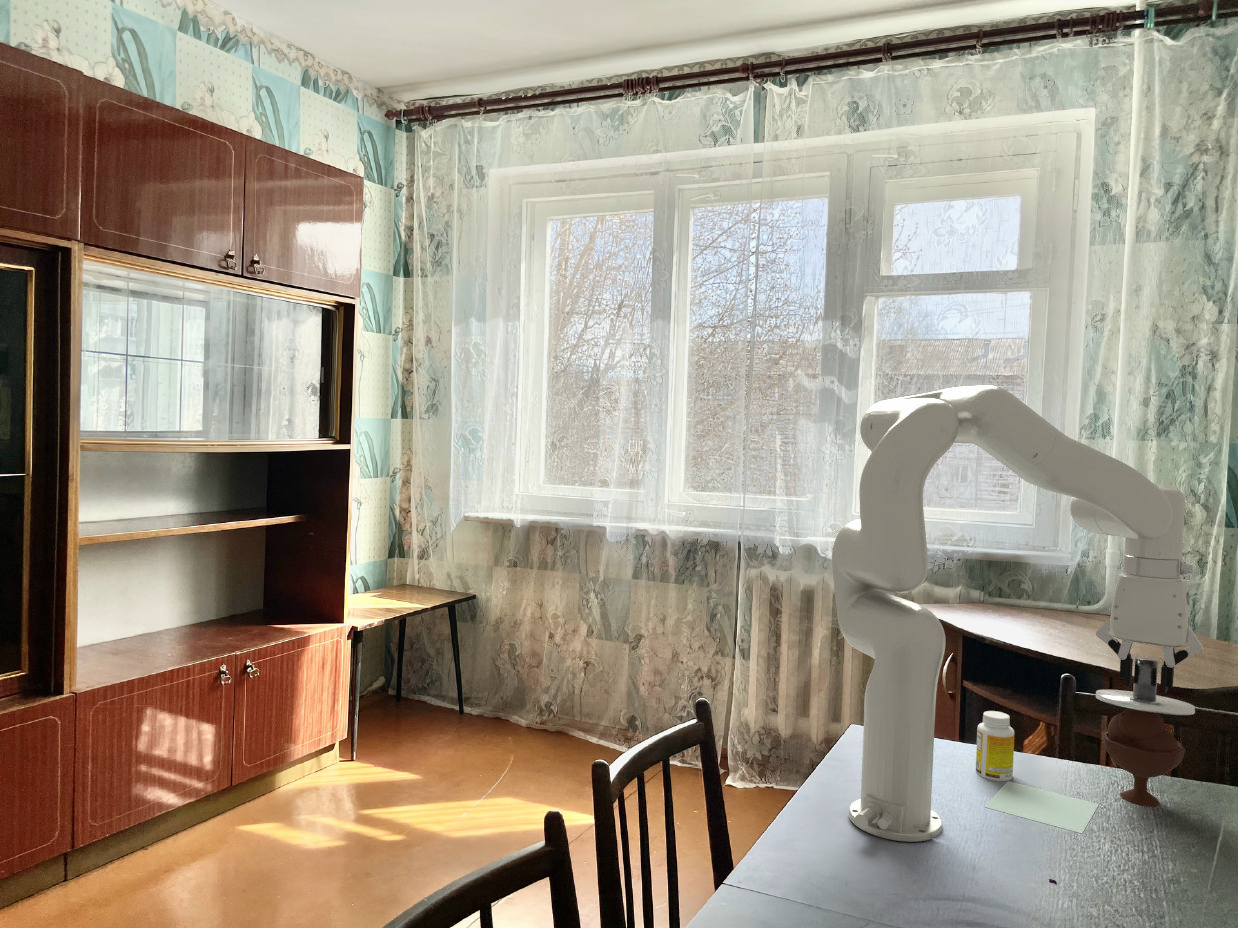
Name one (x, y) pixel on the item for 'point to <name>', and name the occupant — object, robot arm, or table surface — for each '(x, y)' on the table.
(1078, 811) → the mat
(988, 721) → the supplement bottle
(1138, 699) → the lid
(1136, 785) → the ice cream bowl
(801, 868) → the table surface
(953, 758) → the table surface
